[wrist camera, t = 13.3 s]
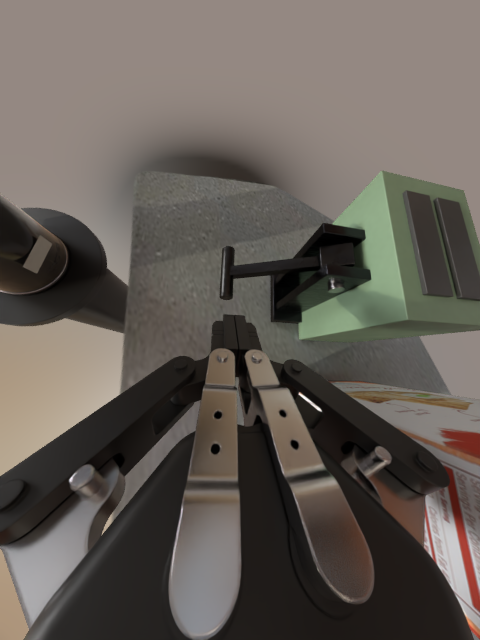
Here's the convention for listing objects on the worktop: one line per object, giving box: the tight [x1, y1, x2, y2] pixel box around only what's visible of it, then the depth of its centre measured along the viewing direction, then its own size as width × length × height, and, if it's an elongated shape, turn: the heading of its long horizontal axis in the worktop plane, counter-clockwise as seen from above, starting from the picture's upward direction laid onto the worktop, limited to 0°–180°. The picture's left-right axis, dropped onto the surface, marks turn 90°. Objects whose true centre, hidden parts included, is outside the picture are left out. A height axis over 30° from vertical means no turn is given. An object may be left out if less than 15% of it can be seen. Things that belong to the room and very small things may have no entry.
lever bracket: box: [271, 223, 371, 324], centre depth 21 cm, size 5×8×13 cm, turn 178°
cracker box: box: [299, 381, 480, 639], centre depth 15 cm, size 14×6×21 cm, turn 88°
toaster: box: [299, 171, 480, 342], centre depth 21 cm, size 9×13×15 cm
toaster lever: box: [220, 242, 355, 300], centre depth 18 cm, size 13×6×2 cm, turn 88°
